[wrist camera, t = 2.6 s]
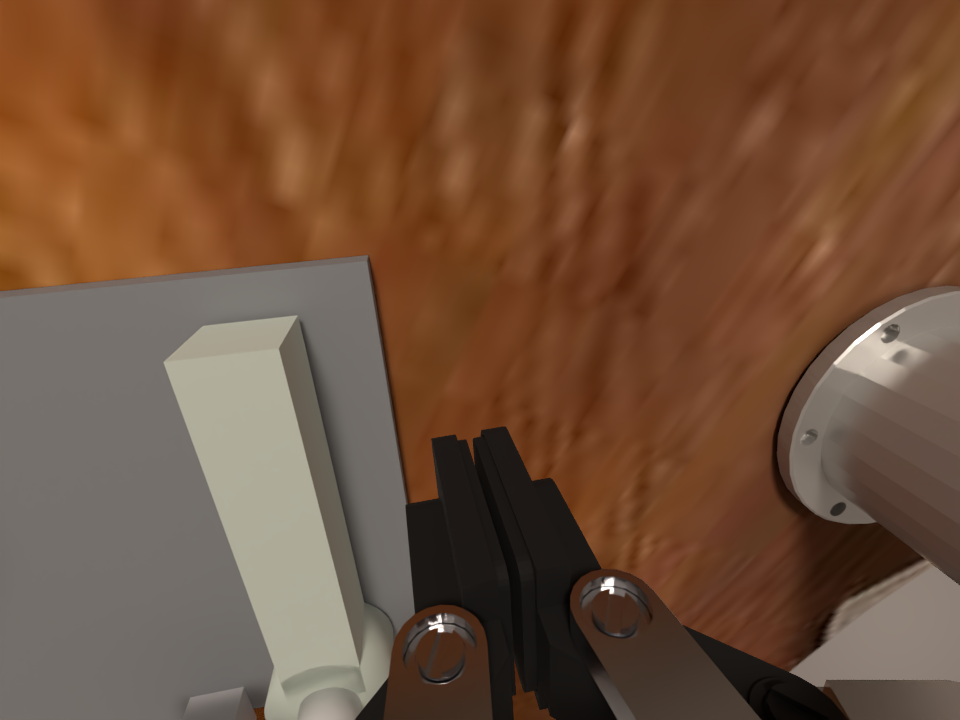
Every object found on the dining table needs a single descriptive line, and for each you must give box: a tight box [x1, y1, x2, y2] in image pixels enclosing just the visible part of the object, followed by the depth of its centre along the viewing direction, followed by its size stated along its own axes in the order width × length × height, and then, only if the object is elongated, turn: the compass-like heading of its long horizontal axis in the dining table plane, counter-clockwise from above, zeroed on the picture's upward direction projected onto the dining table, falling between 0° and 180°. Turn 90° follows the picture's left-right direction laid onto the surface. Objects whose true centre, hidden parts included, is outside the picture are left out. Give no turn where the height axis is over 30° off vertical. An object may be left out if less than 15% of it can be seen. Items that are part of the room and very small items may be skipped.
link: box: [163, 315, 393, 720], centre depth 17 cm, size 18×5×5 cm, turn 4°
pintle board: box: [0, 255, 415, 720], centre depth 17 cm, size 20×22×6 cm
